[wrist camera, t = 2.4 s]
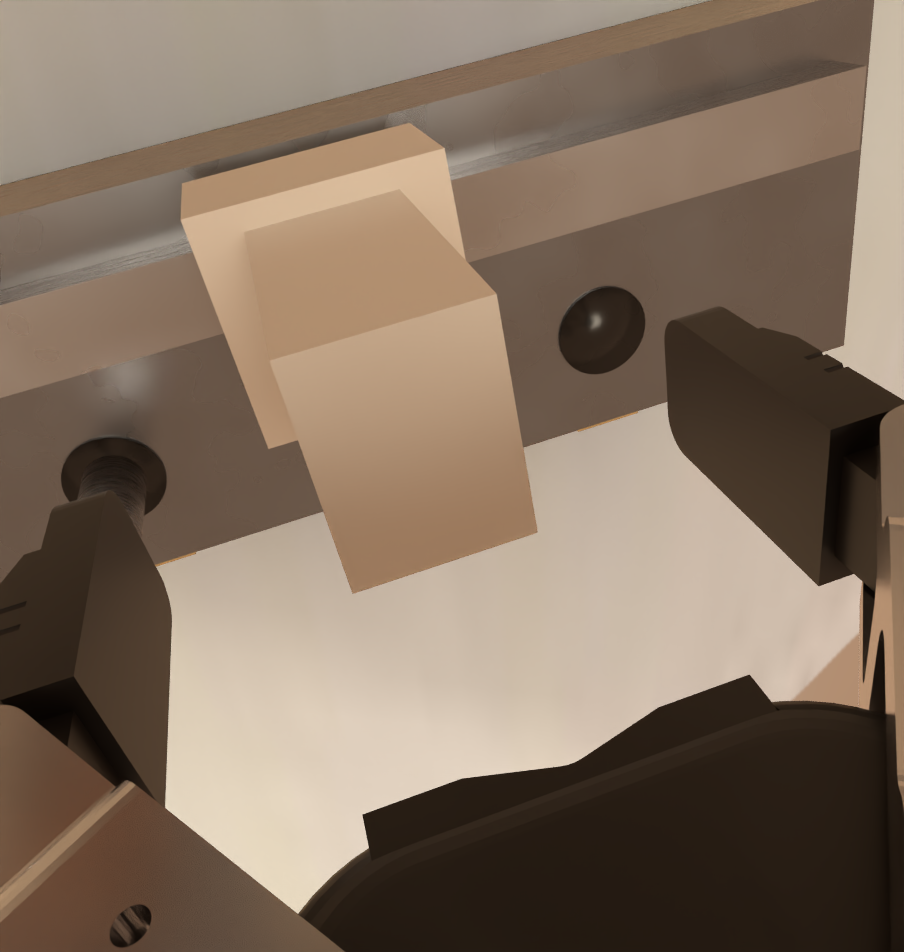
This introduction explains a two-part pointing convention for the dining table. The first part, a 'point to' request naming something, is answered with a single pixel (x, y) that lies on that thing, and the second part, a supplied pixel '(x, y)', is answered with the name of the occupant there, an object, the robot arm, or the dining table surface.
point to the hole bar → (485, 246)
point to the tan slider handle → (369, 346)
